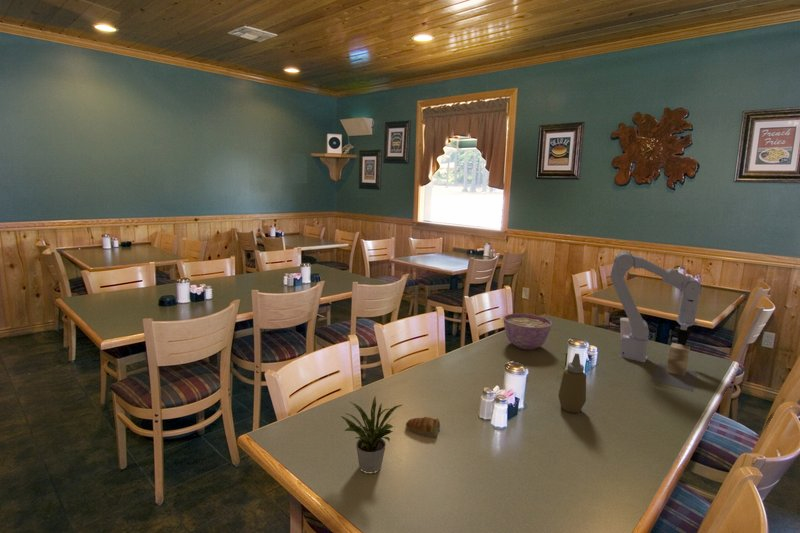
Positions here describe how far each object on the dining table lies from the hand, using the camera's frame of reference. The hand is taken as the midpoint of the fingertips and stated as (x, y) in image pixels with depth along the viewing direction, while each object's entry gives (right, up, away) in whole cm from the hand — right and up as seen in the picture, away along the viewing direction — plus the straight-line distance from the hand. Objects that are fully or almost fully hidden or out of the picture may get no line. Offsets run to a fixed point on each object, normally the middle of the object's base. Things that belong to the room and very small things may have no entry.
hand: (682, 343), depth 178 cm
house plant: (-117, -18, -68) cm, 137 cm away
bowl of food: (-57, -4, +17) cm, 60 cm away
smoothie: (-8, -4, +30) cm, 31 cm away
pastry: (-104, -16, -52) cm, 117 cm away
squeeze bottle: (-58, -14, -36) cm, 70 cm away
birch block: (-6, -10, -6) cm, 13 cm away
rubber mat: (-9, -11, -10) cm, 17 cm away
